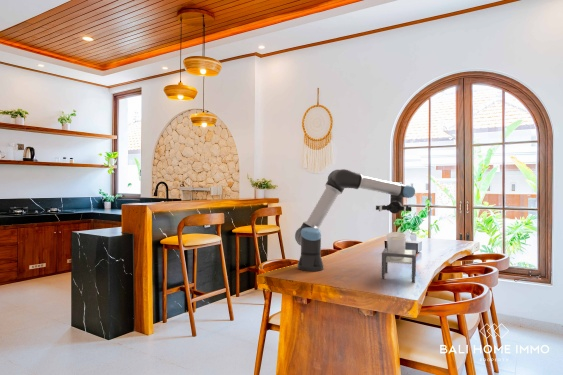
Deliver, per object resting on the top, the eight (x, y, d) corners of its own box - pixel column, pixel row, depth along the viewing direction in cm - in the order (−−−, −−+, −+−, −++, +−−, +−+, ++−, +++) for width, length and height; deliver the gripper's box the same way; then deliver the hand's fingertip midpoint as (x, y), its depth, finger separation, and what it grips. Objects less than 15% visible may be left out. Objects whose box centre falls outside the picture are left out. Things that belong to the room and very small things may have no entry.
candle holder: (405, 261, 202) (405, 240, 198) (386, 259, 206) (385, 238, 202) (406, 252, 211) (406, 232, 207) (388, 251, 214) (387, 231, 211)
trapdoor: (385, 262, 205) (385, 260, 205) (388, 250, 217) (388, 248, 217) (411, 264, 200) (411, 262, 200) (412, 251, 213) (412, 250, 212)
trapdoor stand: (381, 279, 203) (381, 252, 203) (384, 272, 219) (385, 247, 219) (414, 282, 197) (415, 255, 197) (415, 275, 214) (416, 249, 214)
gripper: (416, 214, 236) (415, 216, 216) (374, 212, 245) (370, 214, 225) (416, 201, 236) (415, 203, 216) (374, 200, 245) (370, 201, 225)
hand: (392, 209), depth 221 cm, fingers open, 13 cm apart
